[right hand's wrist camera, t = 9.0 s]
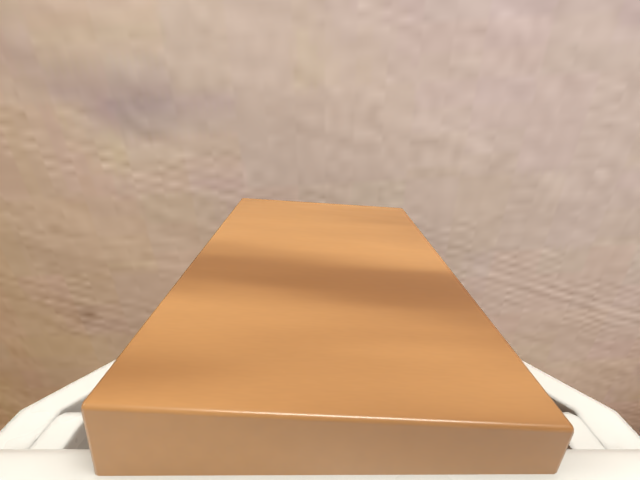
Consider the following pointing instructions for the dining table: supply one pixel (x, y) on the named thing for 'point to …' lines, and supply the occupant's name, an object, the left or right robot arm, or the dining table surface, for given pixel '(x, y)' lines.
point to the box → (320, 361)
